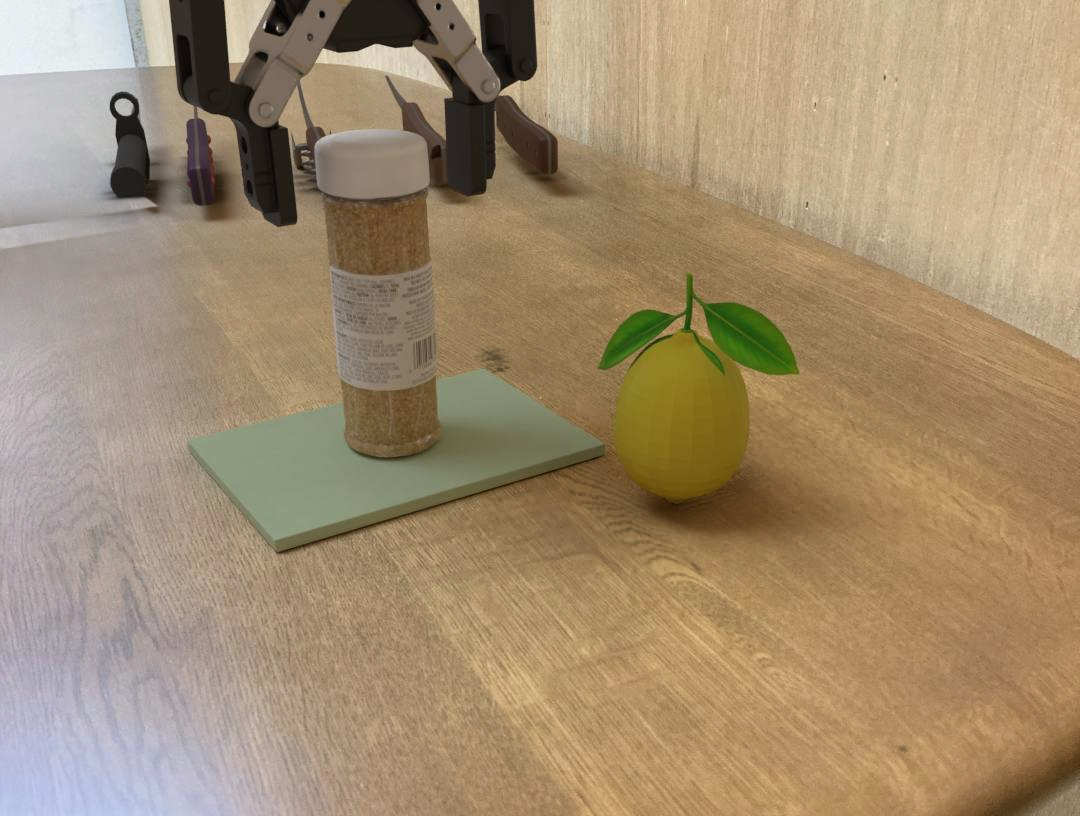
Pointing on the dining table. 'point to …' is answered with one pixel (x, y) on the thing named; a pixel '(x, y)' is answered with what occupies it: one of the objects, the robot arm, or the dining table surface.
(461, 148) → the robot arm
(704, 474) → the lemon
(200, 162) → the knife set
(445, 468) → the mat
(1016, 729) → the dining table surface
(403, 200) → the sprinkles bottle
